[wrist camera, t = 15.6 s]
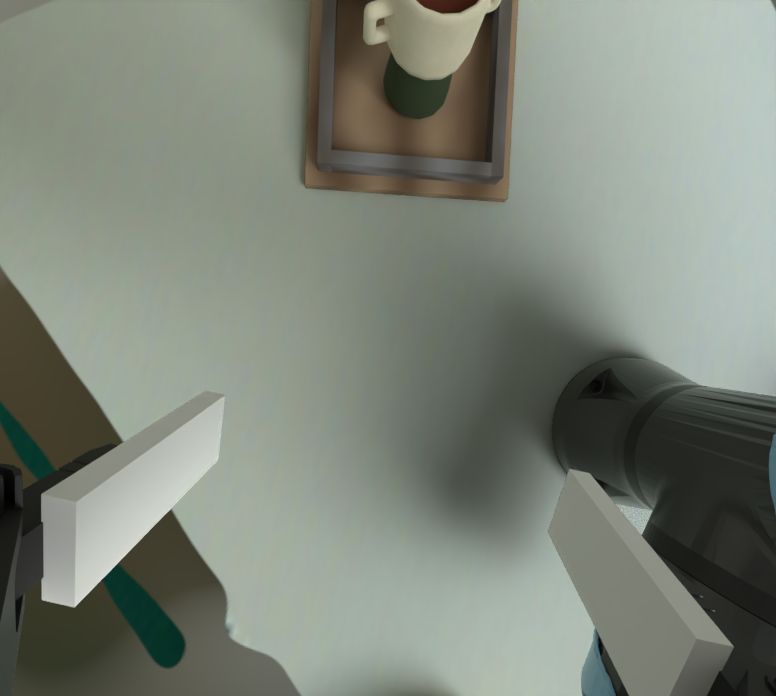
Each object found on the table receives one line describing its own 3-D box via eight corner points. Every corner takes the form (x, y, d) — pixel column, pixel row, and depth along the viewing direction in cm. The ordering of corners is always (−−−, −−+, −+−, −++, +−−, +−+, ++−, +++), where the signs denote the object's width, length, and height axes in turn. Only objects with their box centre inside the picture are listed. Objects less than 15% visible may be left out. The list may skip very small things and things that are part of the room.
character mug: (456, 38, 38) (509, -116, 25) (478, 110, 38) (540, -4, 25) (349, 68, 37) (346, -74, 24) (373, 141, 37) (382, 41, 25)
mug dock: (514, 0, 39) (527, -27, 36) (504, 202, 40) (516, 191, 37) (313, -23, 37) (309, -54, 34) (306, 187, 38) (302, 175, 35)
